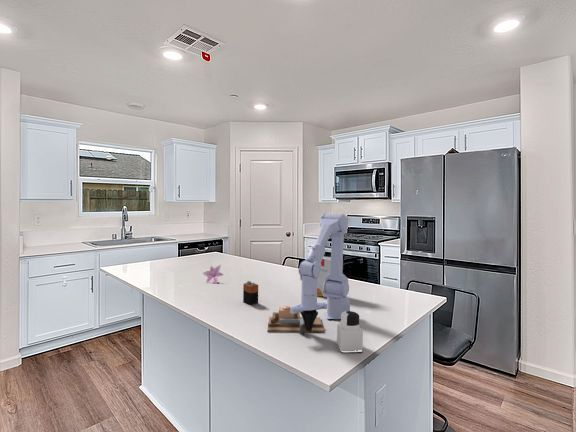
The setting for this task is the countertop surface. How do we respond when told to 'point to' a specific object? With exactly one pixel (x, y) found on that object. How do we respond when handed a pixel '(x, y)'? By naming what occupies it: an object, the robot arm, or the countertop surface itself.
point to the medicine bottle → (349, 332)
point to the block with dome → (285, 313)
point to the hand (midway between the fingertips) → (308, 330)
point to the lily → (213, 274)
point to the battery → (250, 293)
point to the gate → (302, 325)
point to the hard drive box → (323, 275)
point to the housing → (291, 324)
